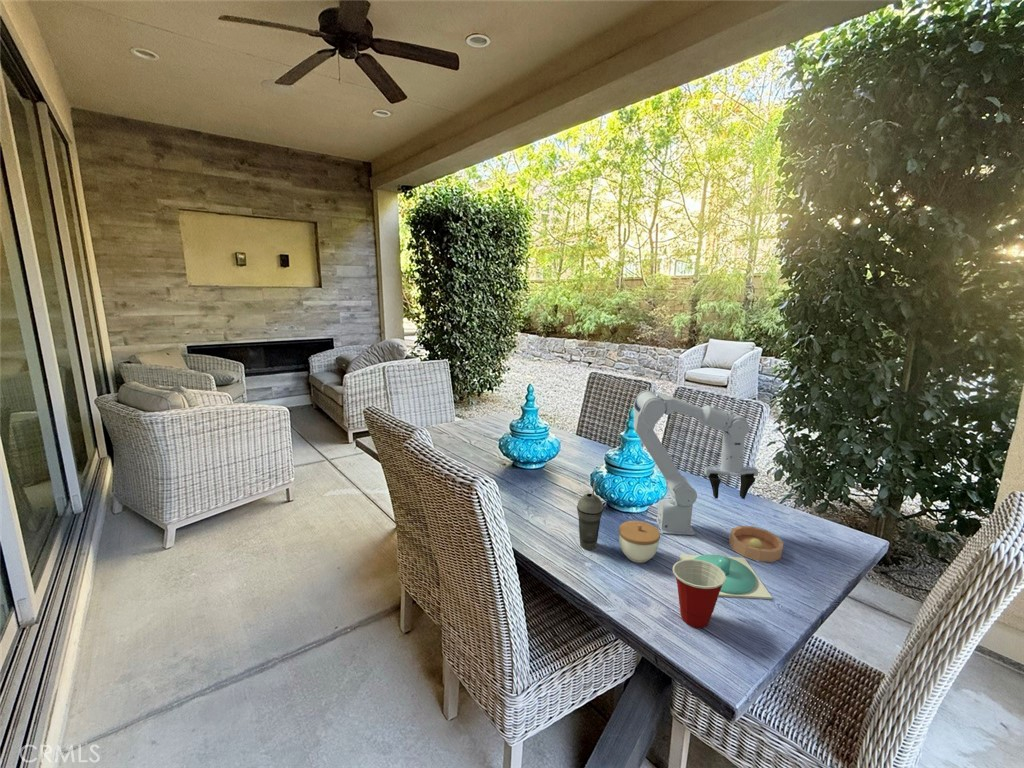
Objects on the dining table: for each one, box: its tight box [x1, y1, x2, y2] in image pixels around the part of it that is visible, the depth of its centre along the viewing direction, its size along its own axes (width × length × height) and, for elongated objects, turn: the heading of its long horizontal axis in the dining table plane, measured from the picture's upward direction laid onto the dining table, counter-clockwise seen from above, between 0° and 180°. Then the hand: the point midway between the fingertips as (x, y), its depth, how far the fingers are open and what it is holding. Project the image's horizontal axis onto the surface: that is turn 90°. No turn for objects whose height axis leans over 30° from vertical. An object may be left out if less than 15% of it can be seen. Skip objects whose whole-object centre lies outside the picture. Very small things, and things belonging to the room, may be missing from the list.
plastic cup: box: [672, 559, 726, 629], centre depth 101 cm, size 11×11×12 cm
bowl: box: [728, 525, 784, 563], centre depth 129 cm, size 13×13×4 cm
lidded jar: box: [618, 520, 661, 564], centre depth 124 cm, size 11×11×9 cm
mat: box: [679, 554, 773, 600], centre depth 117 cm, size 17×16×1 cm
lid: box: [695, 553, 756, 594], centre depth 116 cm, size 15×15×4 cm
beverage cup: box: [576, 480, 604, 551], centre depth 128 cm, size 7×7×20 cm
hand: (728, 497), depth 137 cm, fingers open, 7 cm apart
